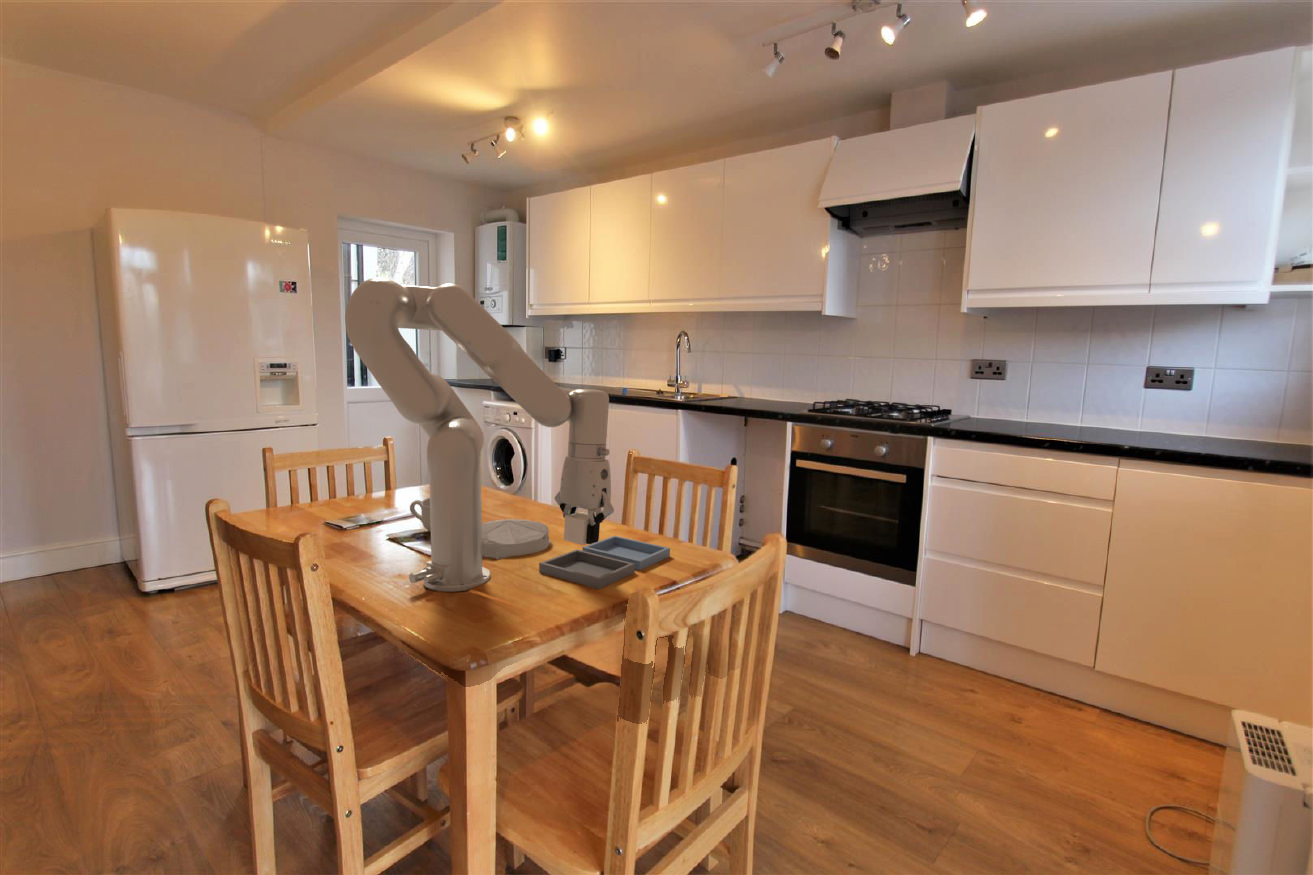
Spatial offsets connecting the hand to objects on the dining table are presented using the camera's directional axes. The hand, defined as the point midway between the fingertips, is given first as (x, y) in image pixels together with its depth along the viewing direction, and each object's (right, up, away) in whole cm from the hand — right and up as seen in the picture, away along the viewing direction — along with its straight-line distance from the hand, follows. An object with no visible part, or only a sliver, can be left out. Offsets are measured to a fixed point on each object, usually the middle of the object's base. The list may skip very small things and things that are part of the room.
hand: (581, 538), depth 128 cm
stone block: (0, 0, 0) cm, 0 cm away
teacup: (-39, -3, +30) cm, 50 cm away
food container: (-19, -5, +19) cm, 28 cm away
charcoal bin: (+1, -8, +1) cm, 8 cm away
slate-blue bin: (+8, -6, +12) cm, 16 cm away
